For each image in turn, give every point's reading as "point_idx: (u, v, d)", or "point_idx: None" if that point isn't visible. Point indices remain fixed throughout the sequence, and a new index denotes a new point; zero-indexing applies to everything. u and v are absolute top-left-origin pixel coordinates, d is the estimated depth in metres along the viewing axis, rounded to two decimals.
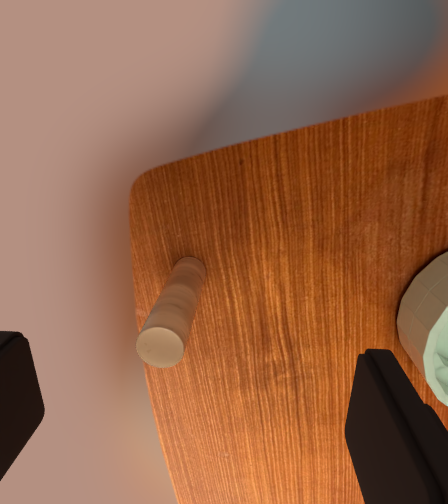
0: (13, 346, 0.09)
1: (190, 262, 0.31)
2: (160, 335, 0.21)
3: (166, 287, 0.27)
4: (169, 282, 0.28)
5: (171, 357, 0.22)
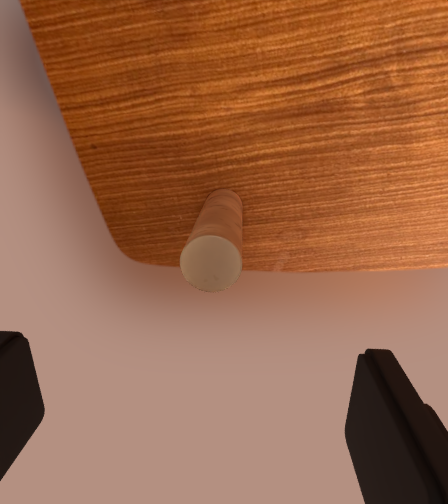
0: (13, 346, 0.09)
1: None
2: (191, 262, 0.17)
3: None
4: None
5: (224, 251, 0.17)
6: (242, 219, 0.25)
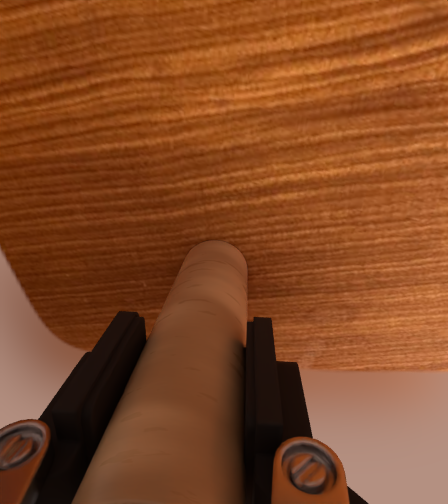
0: (137, 324, 0.10)
1: None
2: None
3: None
4: None
5: None
6: None
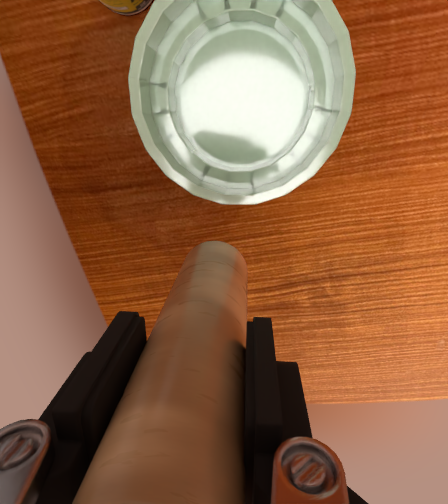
0: (138, 324, 0.10)
1: None
2: None
3: None
4: None
5: None
6: None
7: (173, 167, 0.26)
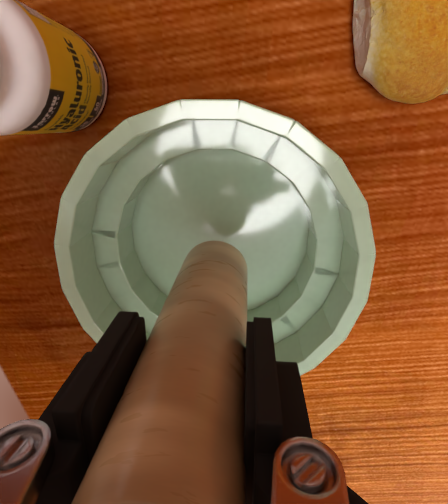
0: (137, 324, 0.10)
1: None
2: None
3: None
4: None
5: None
6: None
7: None
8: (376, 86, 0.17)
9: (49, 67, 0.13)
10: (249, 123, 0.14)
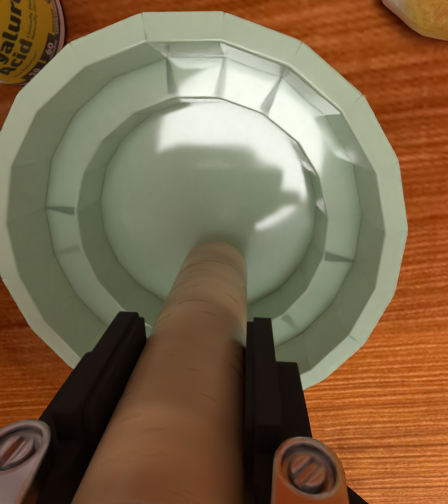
0: (137, 324, 0.10)
1: None
2: None
3: None
4: None
5: None
6: (246, 310, 0.13)
7: (83, 352, 0.15)
8: (406, 15, 0.13)
9: None
10: (238, 46, 0.10)
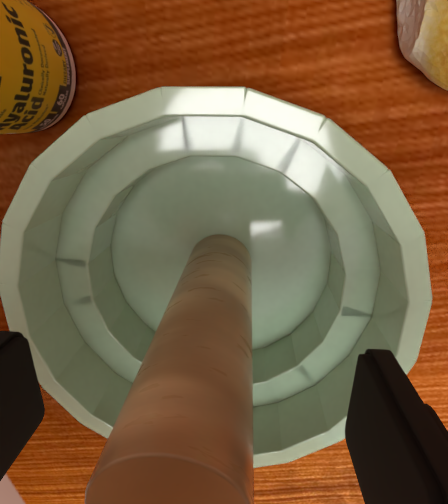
0: (13, 346, 0.09)
1: None
2: None
3: None
4: None
5: (203, 492, 0.06)
6: None
7: (94, 409, 0.15)
8: (428, 72, 0.13)
9: None
10: (260, 121, 0.10)
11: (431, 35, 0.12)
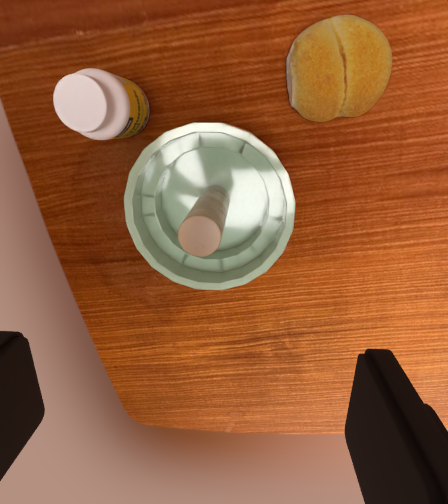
0: (13, 346, 0.09)
1: None
2: (185, 234, 0.25)
3: None
4: None
5: (208, 227, 0.24)
6: (227, 208, 0.32)
7: (158, 260, 0.33)
8: (299, 112, 0.31)
9: (129, 107, 0.28)
10: (227, 134, 0.28)
11: (296, 100, 0.30)
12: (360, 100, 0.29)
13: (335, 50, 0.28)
